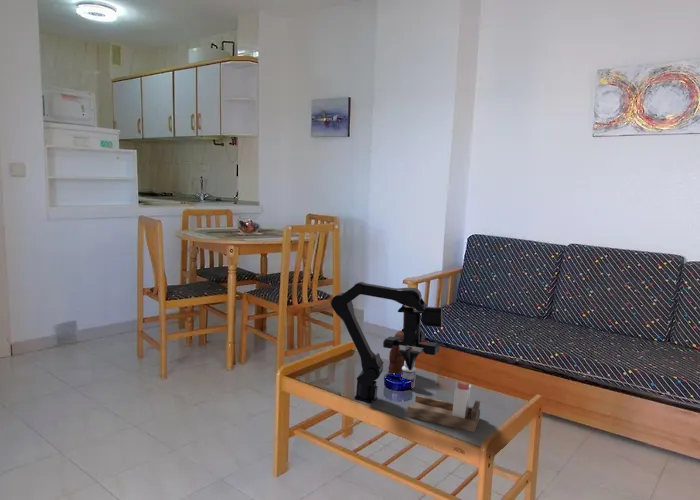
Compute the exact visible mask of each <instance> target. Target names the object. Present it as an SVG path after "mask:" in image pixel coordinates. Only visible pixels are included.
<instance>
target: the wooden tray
mask: <svg viewBox="0 0 700 500" xmlns="http://www.w3.org/2000/svg"><path fill="white" fill-rule="evenodd" d="M453 403H454V402H451V401H445V400H440V399H437V398H432V397H428V396H424V395H419V394H416V395H415V400H414V402H413V404H412V405H408V406H407V411H406V412H407V413H406V417H408V418H413V419H415V420H416V419H417V420H421V421H424V422H429V423H433V424H438V425H442V426H446V427H451V428H456V429H459V430H463V431H467V432H472V433H475V432H476V429H477V426H478V423H479V421H480V418H481V417H480V416H481V408H480V407H481V405H480V404H481V401H480V400H475V401H474V404H473V405H472V406H469V409H468V415H467V417H466V419H465V418H460V417H456V416H452V412H453Z"/></svg>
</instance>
